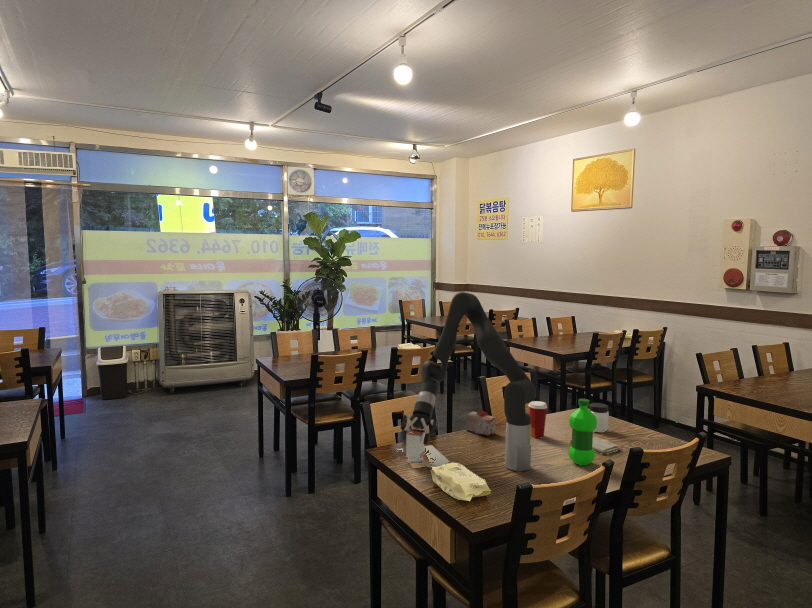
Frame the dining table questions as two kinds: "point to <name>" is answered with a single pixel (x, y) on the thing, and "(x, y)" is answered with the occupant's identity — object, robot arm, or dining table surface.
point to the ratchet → (413, 458)
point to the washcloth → (603, 445)
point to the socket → (415, 443)
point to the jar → (600, 416)
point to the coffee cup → (537, 418)
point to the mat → (434, 453)
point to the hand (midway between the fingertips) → (414, 442)
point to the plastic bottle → (582, 433)
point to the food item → (481, 423)
